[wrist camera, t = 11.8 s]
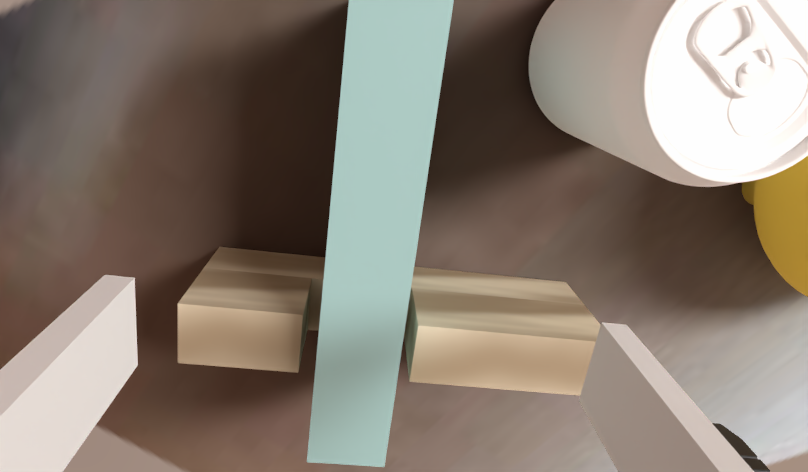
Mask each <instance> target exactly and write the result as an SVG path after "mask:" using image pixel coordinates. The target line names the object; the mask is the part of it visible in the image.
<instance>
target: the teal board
mask: <svg viewBox="0 0 808 472" xmlns="http://www.w3.org/2000/svg"><path fill="white" fill-rule="evenodd" d="M453 2H454V0H349V5H348V16H347V27H346V38H345V49H344V60H343V71H342V82H341V93H340V104H339V115H338V126H337V137H336V148H335V159H334V170H333V181H332V192H331V203H330V214H329V225H328V236H327V247H326V258H325V269H324V280H323V290H322V301H321V312H320V323H319V334H318V345H317V356H316V367H315V378H314V389H313V400H312V411H311V422H310V433H309V444H308V455H307V462H313V463H329V464H345V465H361V466H377V467H384V466H385V459H386V452H387V446H388V439H389V432H390V425H391V419H392V412H393V405H394V399H395V392H396V385H397V378H398V372H399V365H400V358H401V351H402V345H403V338H404V331H405V325H406V318H407V311H408V304H409V298H410V291H411V284H412V278H413V271H414V264H415V257H416V251H417V244H418V237H419V230H420V224H421V217H422V210H423V204H424V197H425V190H426V183H427V177H428V170H429V163H430V156H431V150H432V143H433V136H434V130H435V123H436V116H437V109H438V103H439V96H440V89H441V82H442V76H443V69H444V62H445V56H446V49H447V42H448V35H449V29H450V22H451V15H452V8H453Z"/></svg>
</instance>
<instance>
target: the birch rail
mask: <svg viewBox="0 0 808 472" xmlns="http://www.w3.org/2000/svg"><path fill="white" fill-rule="evenodd" d="M324 269H325V257H316V256H306V255H296V254H286V253H276V252H267V251H257V250H247V249H237V248H227V247H219V248H218V249H217V251H216V252H215V253H214V255H213V256H212V258H211V259H210V260H209V262H208V263H207V264H206V266H205V267H204V268H203V270H202V271H201V272H200V274H199V275H198V277H197V278H196V279H195V281H194V282H193V283H192V285H191V286H190V287H189V289H188V290H187V291H186V293H185V294H184V296H183V297H182V298H181V300H180V301H179V302H178V363H184V364H197V365H209V366H221V367H234V368H246V369H259V370H271V371H283V372H296V373H298V371H299V367H300V362H301V357H302V353H303V348H304V344H305V339H306V334H307V330H315V331H319V323H320V312H321V301H322V290H323V280H324ZM600 326H601V325H600V324H599V322H598V321H597V320H596V319H595V318H594V316H593V315H592V314H591V313H590V311H589V310H588V309H587V308H586V306H585V305H584V304H583V303H582V301H581V300H580V299H579V298H578V297H577V295H576V294H575V293H574V292H573V290H572V289H571V288H570V287H569V285H568V284H567V283H566V282H561V281H551V280H541V279H531V278H522V277H512V276H502V275H492V274H482V273H473V272H463V271H453V270H443V269H433V268H424V267H414V271H413V278H412V284H411V291H410V298H409V304H408V311H407V318H406V325H405V331H404V339H405V348H406V356H407V365H408V374H409V382H419V383H432V384H444V385H456V386H469V387H481V388H493V389H506V390H518V391H530V392H543V393H555V394H568V395H581V391H582V388H583V384H584V381H585V377H586V374H587V371H588V367H589V364H590V360H591V357H592V353H593V350H594V347H595V343H596V340H597V336H598V333H599V329H600Z"/></svg>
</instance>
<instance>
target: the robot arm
mask: <svg viewBox="0 0 808 472" xmlns="http://www.w3.org/2000/svg"><path fill="white" fill-rule="evenodd" d="M137 366H138V357H137V330H136V302H135V278H132V277H122V276H111V275H104V276H103V277H102V278H101V279H100V280H99V281H98V282H96V283H95V284H94V285H93V286H92V287H91V288H90V289H89V290H88V291H87V292H85V293H84V294H83V295H82V296H81V297H80V298H79V299H78V300H77V301H75V302H74V303H73V304H72V305H71V306H70V307H69V308H68V309H67V310H66V311H64V312H63V313H62V314H61V315H60V316H59V317H58V318H57V319H56V320H55V321H53V322H52V323H51V324H50V325H49V326H48V327H47V328H46V329H45V330H43V331H42V332H41V333H40V334H39V335H38V336H37V337H36V338H35V339H34V340H32V341H31V342H30V343H29V344H28V345H27V346H26V347H25V348H24V349H23V350H21V351H20V352H19V353H18V354H17V355H16V356H15V357H14V358H13V359H11V360H10V361H9V362H8V363H7V364H6V365H5V366H4V367H3V368H2V369H0V472H63V470H64V469H65V468H66V466H67V465H68V463H69V462H70V461H71V459H72V457H73V456H74V455H75V454H76V452H77V451H78V449H79V448H80V446H81V445H82V444H83V442H84V441H85V439H86V438H87V437H88V435H89V434H90V432H91V430H92V429H93V428H94V427H95V425H96V424H97V422H98V421H99V420H100V418H101V417H102V415H103V414H104V412H105V411H106V410H107V408H108V407H109V405H110V404H111V403H112V401H113V400H114V398H115V397H116V395H117V394H118V393H119V391H120V390H121V388H122V387H123V385H124V384H125V383H126V381H127V380H128V378H129V377H130V376H131V374H132V373H133V371H134V370H135V368H136V367H137ZM579 402H580V404H581V406H582V408H583V409H584V411H585V413H586V415H587V417H588V418H589V420H590V422H591V424H592V426H593V427H594V429H595V431H596V433H597V435H598V436H599V438H600V440H601V442H602V443H603V445H604V447H605V449H606V451H607V452H608V454H609V456H610V458H611V460H612V461H613V463H614V465H615V467H616V468H617V470H618V472H770V470H769V469H768V468H767V467H766V466H765V464H764V463H763V462H762V461H761V460H758V459H757V456H756V455H755V453H754V452H753V451H752V450H751V449H750V448H749V447H748V446H747V445H746V443H745V442H744V441H743V440H742V439H741V438H739V437H738V436H736V435H735V434H734V433H732V432H731V431H729V430H728V429H727V428H725V427H724V426H723V425H721V424H715V423H711V422H710V420H709V419H708V418H707V417H706V416H705V415H704V413H703V412H702V411H701V410H700V409H699V408H698V407H697V405H696V404H695V403H694V402H693V401H692V400H691V399H690V397H689V396H688V395H687V394H686V393H685V392H684V390H683V389H682V388H681V387H680V386H679V385H678V384H677V382H676V381H675V380H674V379H673V378H672V377H671V376H670V374H669V373H668V372H667V371H666V370H665V369H664V367H663V366H662V365H661V364H660V363H659V362H658V361H657V359H656V358H655V357H654V356H653V355H652V354H651V352H650V351H649V350H648V349H647V348H646V347H645V346H644V344H643V343H642V342H641V341H640V340H639V339H638V338H637V336H636V335H635V334H634V333H633V332H632V331H631V329H630V328H629V327H628V326H627V325H623V324H613V323H602V322H601V326H600V329H599V333H598V336H597V340H596V343H595V347H594V350H593V353H592V357H591V360H590V364H589V367H588V371H587V374H586V377H585V381H584V384H583V388H582V391H581V395H580V398H579Z"/></svg>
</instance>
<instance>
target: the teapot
mask: <svg viewBox="0 0 808 472" xmlns="http://www.w3.org/2000/svg"><path fill="white" fill-rule="evenodd" d="M742 194H743V196H744V198H745V200H746V201H747V202H748V203H750V204H752V205H754V218H755V223H756V228H757V233H758V236H759V239H760V241H761V244H762V247H763V249H764V251H765V253H766V254H767V256H768V258H769V260H770V261H771V263H772V264H773V266H774V268H775V269H776V270H777V271H778V273H779V274H780V275H781V276H782V277H783V279H784V280H785V281H786V282H787V283H789V284H790V285H791V286H792V287H793V288H795V289H796V290H797V291H798V292H800V293H802V294H803V295H805V296H807V297H808V156H806V157H805V158H804V159H802V160H801V161H799V162H798V163H796V164H794V165H793V166H791V167H789V168H787V169H785V170H783V171H781V172H779V173H777V174H774V175H771V176H769V177H766V178H762V179H759V180H754V181H749V182H742Z"/></svg>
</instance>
